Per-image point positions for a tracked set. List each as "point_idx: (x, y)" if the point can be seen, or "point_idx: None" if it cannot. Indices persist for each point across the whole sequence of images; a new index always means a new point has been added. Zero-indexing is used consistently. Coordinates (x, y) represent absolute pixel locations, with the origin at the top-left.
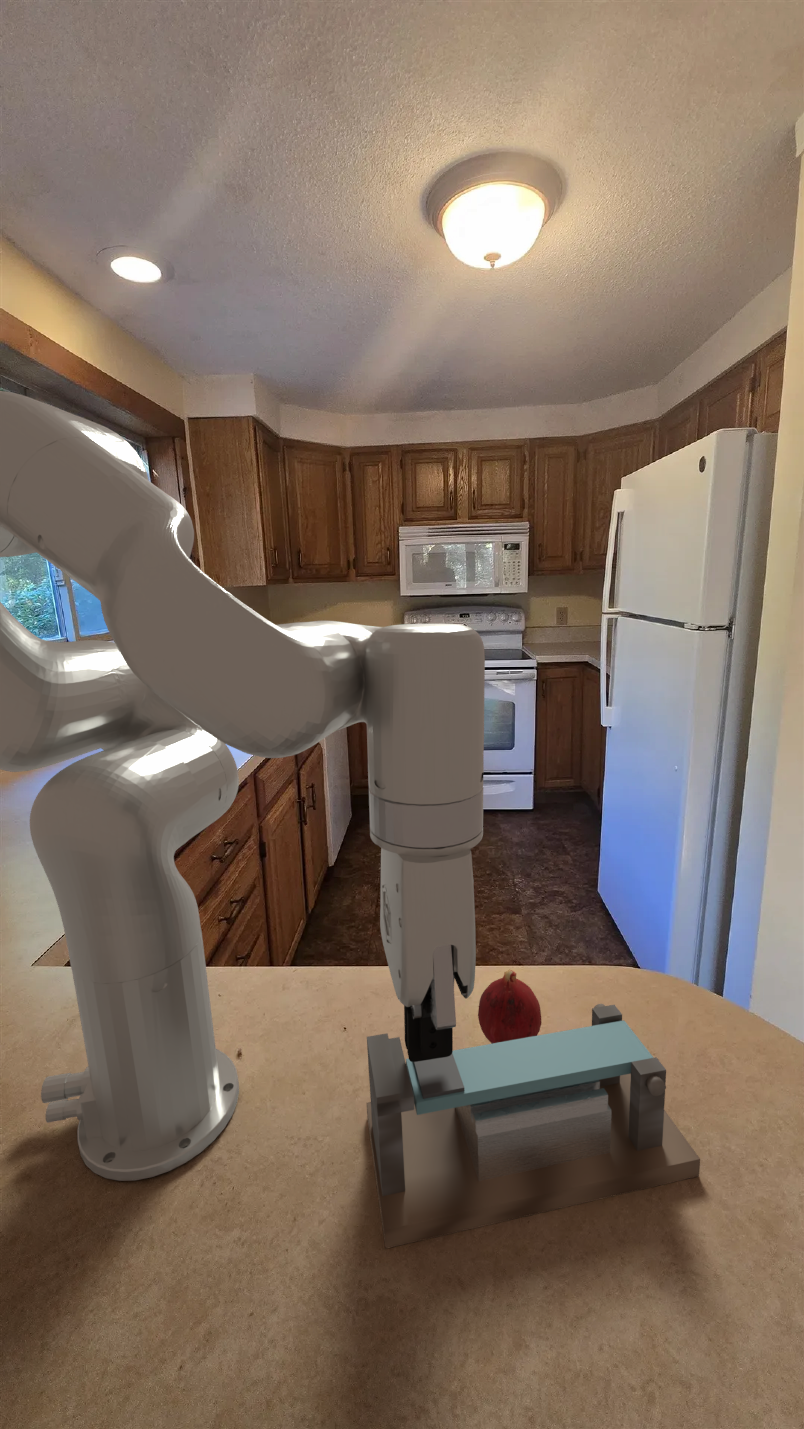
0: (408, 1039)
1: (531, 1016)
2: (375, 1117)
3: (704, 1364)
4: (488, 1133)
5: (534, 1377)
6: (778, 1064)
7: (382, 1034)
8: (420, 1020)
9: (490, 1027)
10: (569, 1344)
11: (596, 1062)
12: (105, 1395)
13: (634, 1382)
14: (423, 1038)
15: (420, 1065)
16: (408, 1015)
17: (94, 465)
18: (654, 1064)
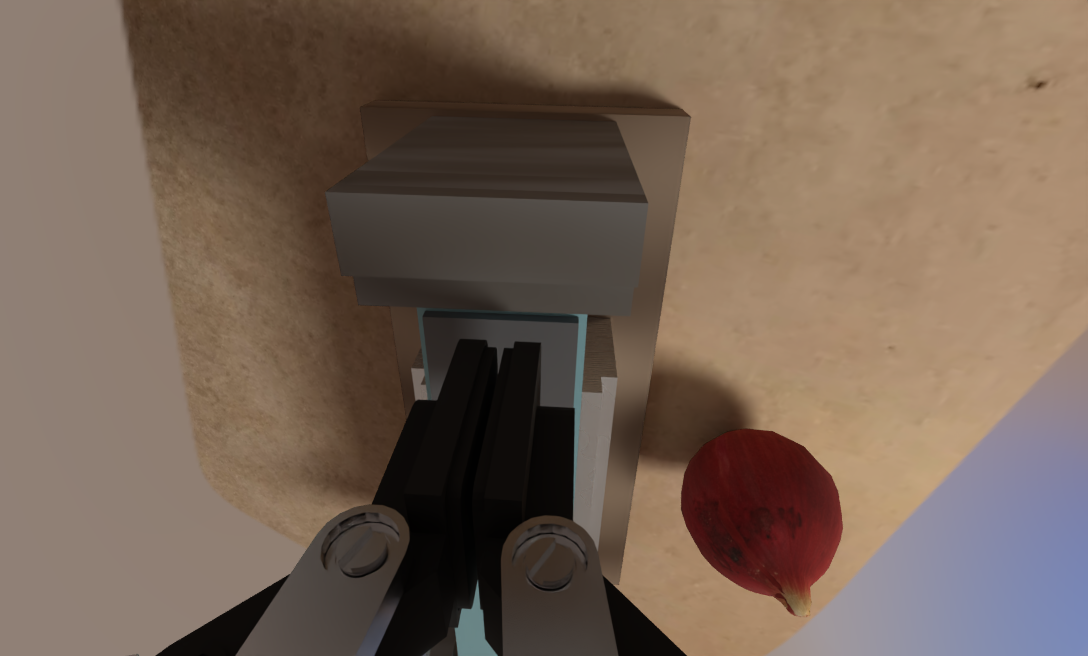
0: (442, 391)
1: (701, 551)
2: (470, 150)
3: (237, 451)
4: (418, 388)
5: (205, 282)
6: None
7: (637, 268)
8: (393, 507)
9: (730, 466)
10: (245, 336)
11: (468, 628)
12: None
13: (213, 384)
14: (393, 454)
15: (533, 336)
16: (408, 484)
17: None
18: None
